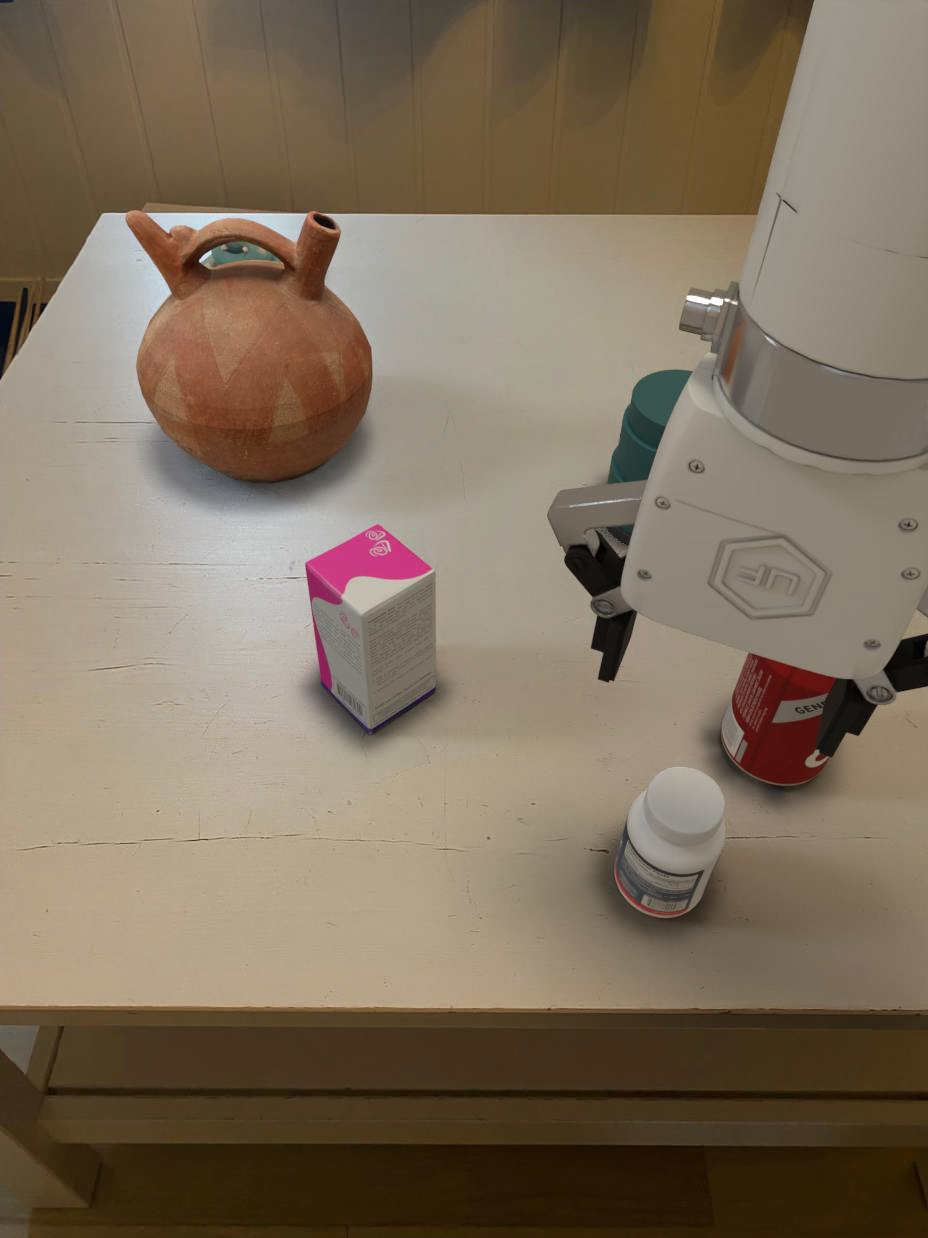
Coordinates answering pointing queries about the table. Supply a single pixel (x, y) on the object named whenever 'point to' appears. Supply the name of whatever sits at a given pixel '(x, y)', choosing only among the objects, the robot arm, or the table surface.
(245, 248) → the stuffed animal
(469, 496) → the table surface
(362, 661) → the supplement box
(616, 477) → the cup stack
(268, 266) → the jug
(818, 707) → the soda can
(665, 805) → the pill bottle
